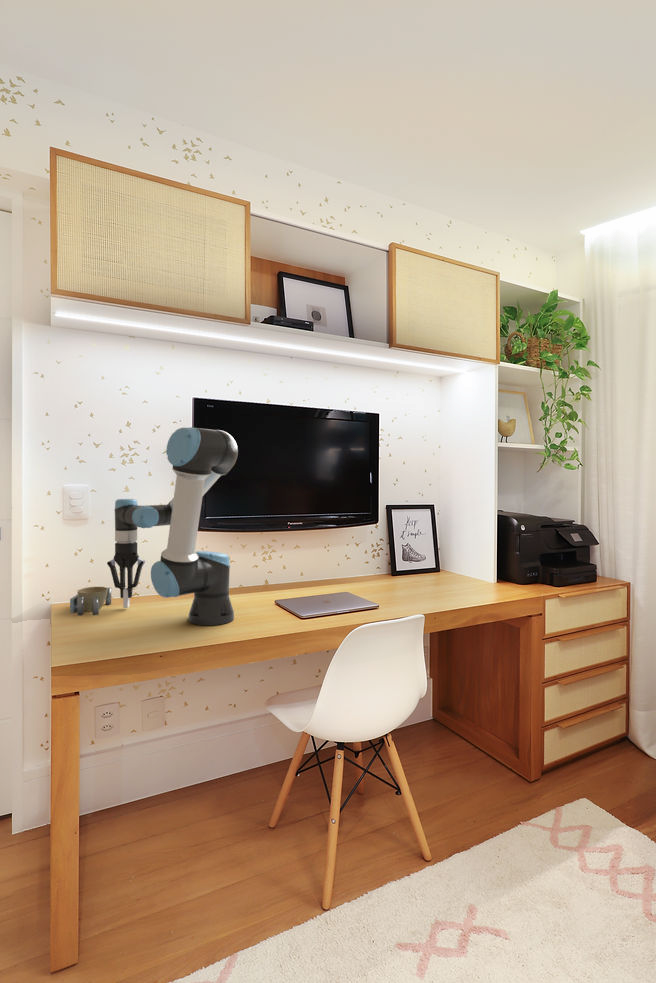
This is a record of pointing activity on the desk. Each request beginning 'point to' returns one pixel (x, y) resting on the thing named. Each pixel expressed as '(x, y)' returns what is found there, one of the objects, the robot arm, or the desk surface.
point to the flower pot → (90, 593)
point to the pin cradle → (78, 604)
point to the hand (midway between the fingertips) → (126, 606)
